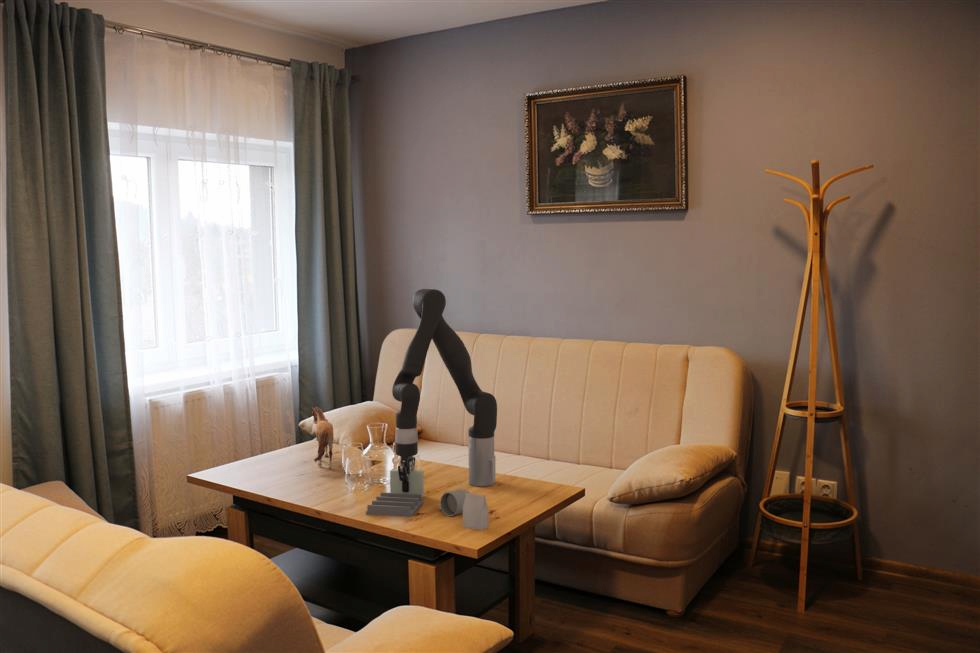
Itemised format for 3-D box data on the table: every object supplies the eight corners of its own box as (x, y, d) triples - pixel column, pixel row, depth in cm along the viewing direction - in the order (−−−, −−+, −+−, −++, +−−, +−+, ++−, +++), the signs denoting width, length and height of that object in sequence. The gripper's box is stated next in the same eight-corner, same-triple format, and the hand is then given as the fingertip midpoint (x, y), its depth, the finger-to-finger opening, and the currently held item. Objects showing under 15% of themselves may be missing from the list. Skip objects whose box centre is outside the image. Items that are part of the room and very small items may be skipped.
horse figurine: (312, 455, 340) (311, 405, 338) (332, 453, 341) (331, 404, 340) (314, 474, 310) (312, 420, 308) (335, 473, 311) (334, 419, 310)
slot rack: (423, 503, 273) (423, 494, 273) (411, 516, 259) (411, 507, 259) (379, 501, 276) (379, 492, 276) (365, 514, 262) (365, 505, 262)
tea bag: (481, 530, 246) (481, 497, 246) (462, 526, 250) (462, 494, 249) (488, 527, 249) (488, 494, 249) (469, 523, 253) (469, 491, 252)
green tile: (423, 496, 282) (423, 470, 281) (421, 498, 279) (421, 472, 278) (392, 494, 283) (392, 469, 283) (390, 496, 281) (390, 470, 280)
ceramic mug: (474, 512, 264) (473, 488, 263) (457, 518, 257) (457, 494, 257) (449, 506, 270) (448, 483, 270) (432, 512, 264) (431, 489, 263)
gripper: (411, 445, 272) (412, 496, 274) (422, 436, 286) (423, 485, 287) (389, 444, 273) (390, 495, 275) (401, 435, 287) (402, 484, 289)
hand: (407, 490), depth 281 cm, fingers open, 3 cm apart
